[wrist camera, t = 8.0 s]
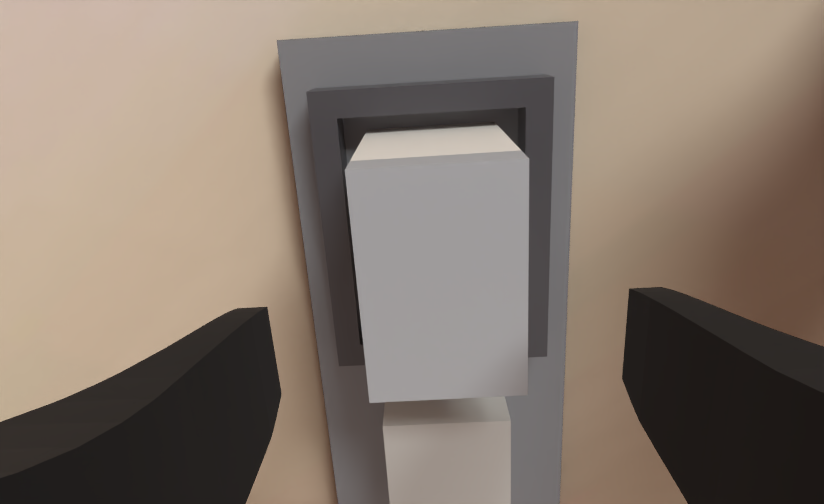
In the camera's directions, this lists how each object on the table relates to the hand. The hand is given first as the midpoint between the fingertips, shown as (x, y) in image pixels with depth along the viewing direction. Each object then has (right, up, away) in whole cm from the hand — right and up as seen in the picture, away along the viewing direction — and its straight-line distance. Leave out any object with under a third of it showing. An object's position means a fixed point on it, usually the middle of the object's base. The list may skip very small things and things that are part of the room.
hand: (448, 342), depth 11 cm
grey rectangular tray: (0, -1, +10) cm, 10 cm away
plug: (0, +3, +8) cm, 8 cm away
